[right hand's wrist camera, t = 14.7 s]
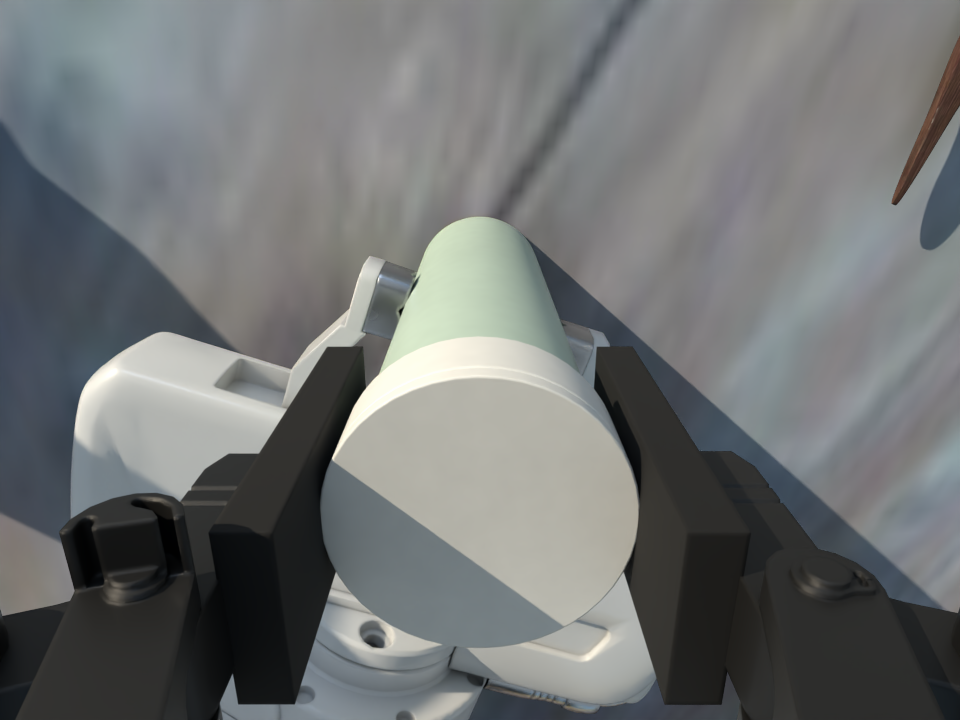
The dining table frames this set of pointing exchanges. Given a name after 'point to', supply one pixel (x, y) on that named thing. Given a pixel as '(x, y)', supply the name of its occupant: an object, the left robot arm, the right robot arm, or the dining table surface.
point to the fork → (933, 123)
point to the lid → (479, 495)
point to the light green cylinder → (479, 292)
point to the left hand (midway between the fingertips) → (488, 298)
